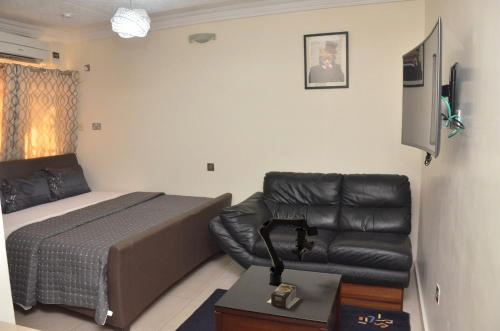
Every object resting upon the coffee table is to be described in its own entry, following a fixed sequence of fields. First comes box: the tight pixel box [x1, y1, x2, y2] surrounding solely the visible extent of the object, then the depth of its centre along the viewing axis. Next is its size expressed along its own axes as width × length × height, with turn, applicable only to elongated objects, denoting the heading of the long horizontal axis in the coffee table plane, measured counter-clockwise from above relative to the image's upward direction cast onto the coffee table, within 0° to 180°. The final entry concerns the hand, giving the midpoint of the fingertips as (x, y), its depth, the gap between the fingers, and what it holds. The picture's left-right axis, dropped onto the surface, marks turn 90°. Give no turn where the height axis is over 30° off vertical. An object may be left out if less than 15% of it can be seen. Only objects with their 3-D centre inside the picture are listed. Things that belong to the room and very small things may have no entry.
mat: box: [266, 296, 300, 309], centre depth 223 cm, size 14×14×1 cm
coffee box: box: [270, 283, 297, 309], centre depth 222 cm, size 9×6×16 cm
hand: (301, 261), depth 249 cm, fingers closed
